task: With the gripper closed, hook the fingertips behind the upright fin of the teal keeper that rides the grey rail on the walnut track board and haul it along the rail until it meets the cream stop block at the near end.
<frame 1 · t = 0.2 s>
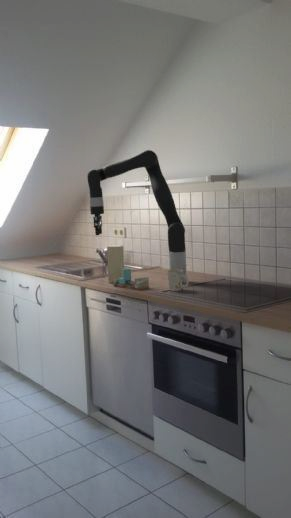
hand: (98, 234, 287), 28 cm above the worktop, fingers open, 8 cm apart
mug: (179, 290, 261), on the worktop
keeper: (124, 276, 280), point 6 cm above the worktop, slide at 0.0 cm
toy refrigerator: (117, 282, 296), on the worktop
track: (131, 287, 277), on the worktop
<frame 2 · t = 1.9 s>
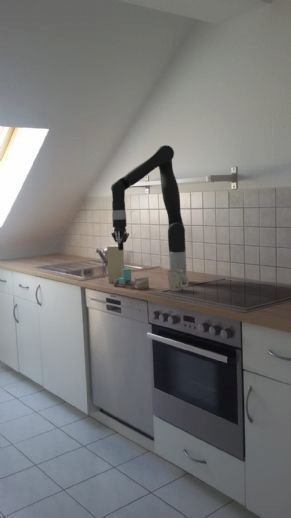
hand: (120, 250, 280), 20 cm above the worktop, fingers closed
nothing on the worktop moved.
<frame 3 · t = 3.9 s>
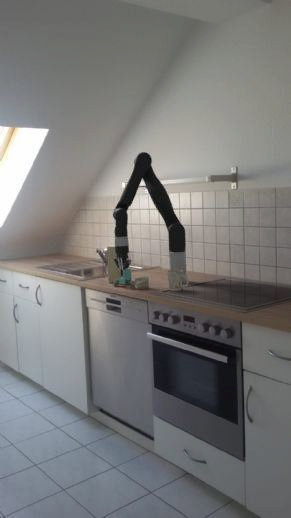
hand: (123, 276, 281), 5 cm above the worktop, fingers closed
keeper: (124, 276, 280), point 6 cm above the worktop, slide at 0.2 cm, touching gripper
everything else where it was.
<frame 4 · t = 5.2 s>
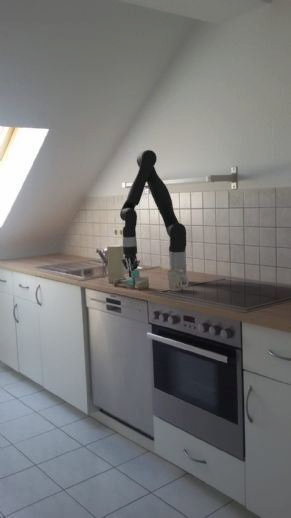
hand: (131, 277, 276), 5 cm above the worktop, fingers closed
keeper: (133, 277, 275), point 6 cm above the worktop, slide at 7.0 cm, touching gripper
everything else where it was.
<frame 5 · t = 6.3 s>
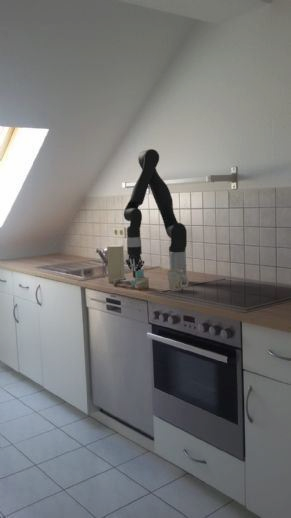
hand: (135, 277, 274), 5 cm above the worktop, fingers closed
keeper: (137, 277, 273), point 6 cm above the worktop, slide at 10.5 cm, touching gripper, track
everything else where it was.
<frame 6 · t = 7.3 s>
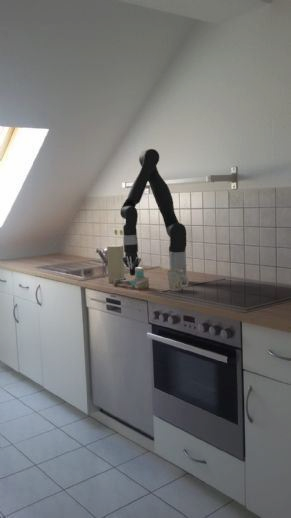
hand: (132, 275, 275), 7 cm above the worktop, fingers closed
keeper: (137, 277, 273), point 6 cm above the worktop, slide at 10.5 cm, touching track
everything else where it was.
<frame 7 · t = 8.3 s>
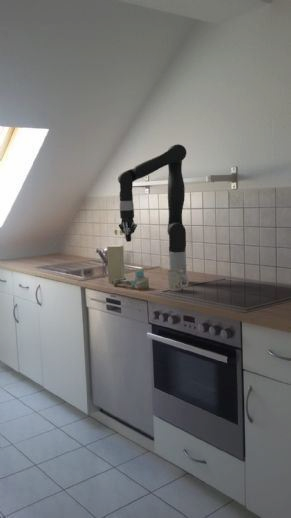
hand: (128, 241, 277), 25 cm above the worktop, fingers closed
nothing on the worktop moved.
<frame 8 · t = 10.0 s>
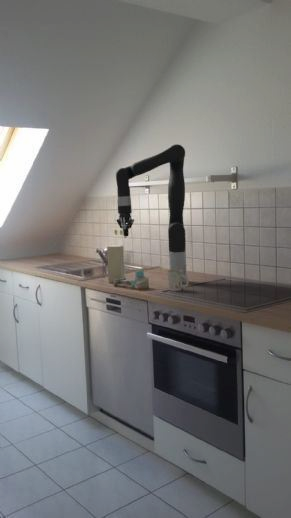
hand: (126, 236, 284), 27 cm above the worktop, fingers closed
nothing on the worktop moved.
at the end: keeper slide at 10.5 cm; keeper touching track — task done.
